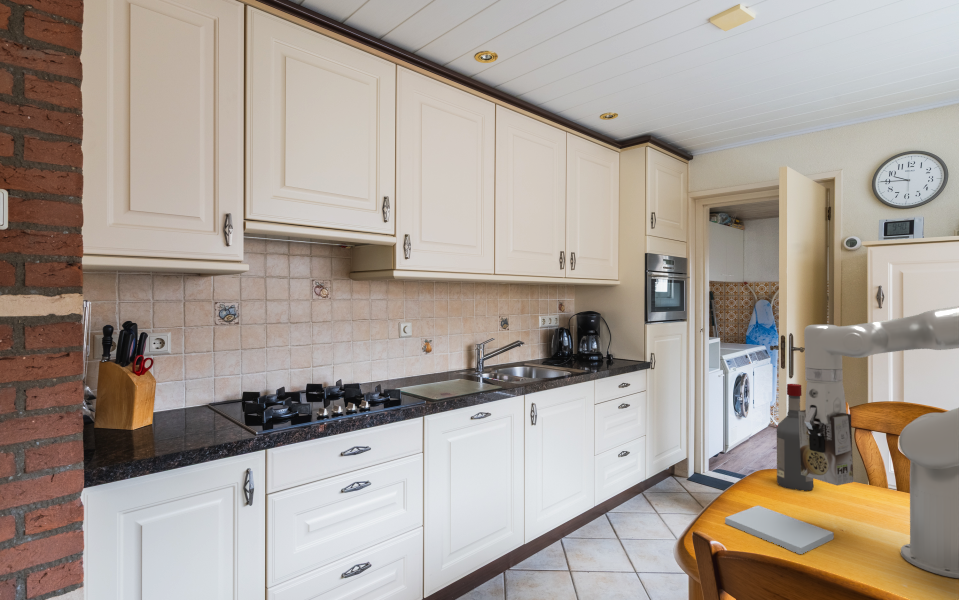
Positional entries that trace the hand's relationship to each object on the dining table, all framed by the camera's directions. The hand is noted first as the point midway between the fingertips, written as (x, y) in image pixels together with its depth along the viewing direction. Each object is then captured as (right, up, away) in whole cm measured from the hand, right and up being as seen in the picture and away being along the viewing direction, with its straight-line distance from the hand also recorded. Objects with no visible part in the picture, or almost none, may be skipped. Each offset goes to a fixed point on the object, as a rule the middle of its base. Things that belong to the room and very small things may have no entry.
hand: (825, 448), depth 123 cm
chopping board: (-12, -20, -1) cm, 23 cm away
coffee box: (0, -8, 0) cm, 8 cm away
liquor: (+10, -20, +29) cm, 36 cm away
